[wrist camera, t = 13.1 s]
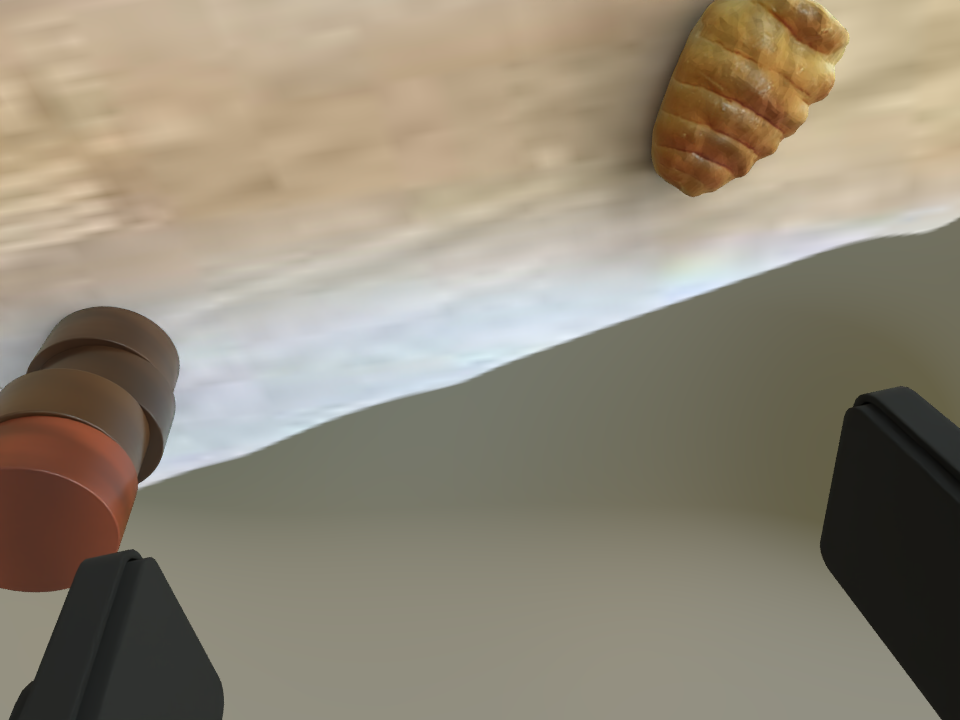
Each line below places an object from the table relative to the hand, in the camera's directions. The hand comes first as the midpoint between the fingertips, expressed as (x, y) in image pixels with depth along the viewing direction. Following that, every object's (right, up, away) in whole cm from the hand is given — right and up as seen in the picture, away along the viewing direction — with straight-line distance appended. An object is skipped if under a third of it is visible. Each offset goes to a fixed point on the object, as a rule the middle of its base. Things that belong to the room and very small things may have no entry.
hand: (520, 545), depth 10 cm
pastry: (+11, +16, +24) cm, 31 cm away
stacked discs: (-19, +3, +26) cm, 32 cm away
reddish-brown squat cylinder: (-17, -2, +18) cm, 25 cm away
